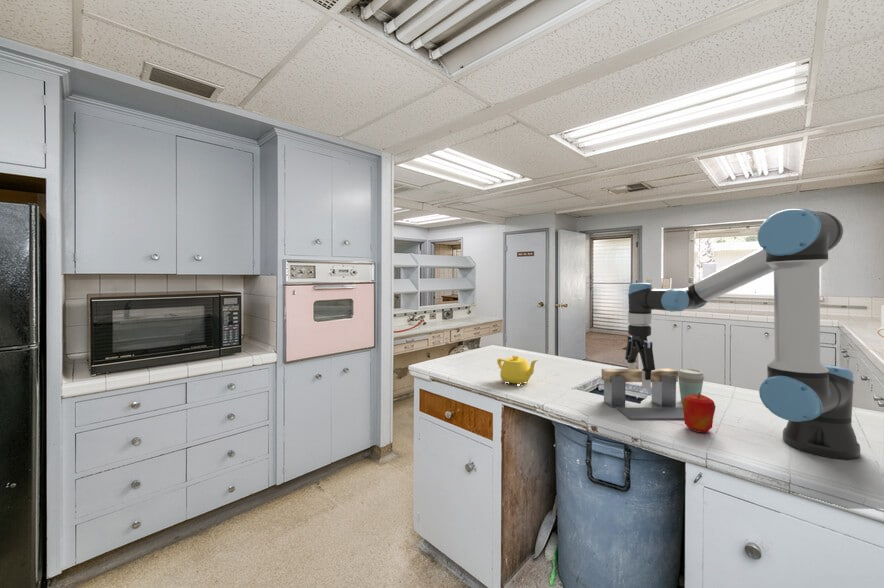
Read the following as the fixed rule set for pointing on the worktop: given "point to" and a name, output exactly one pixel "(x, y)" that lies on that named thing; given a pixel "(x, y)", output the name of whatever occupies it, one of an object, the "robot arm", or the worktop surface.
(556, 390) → the worktop surface
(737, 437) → the worktop surface
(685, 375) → the coffee cup
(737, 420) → the worktop surface
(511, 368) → the teapot
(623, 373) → the rail
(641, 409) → the mat
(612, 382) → the rack
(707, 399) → the apple
